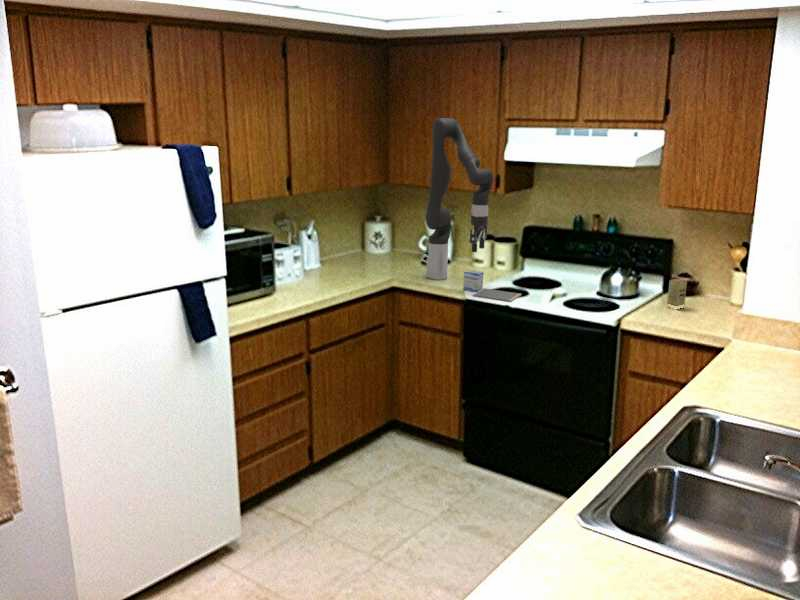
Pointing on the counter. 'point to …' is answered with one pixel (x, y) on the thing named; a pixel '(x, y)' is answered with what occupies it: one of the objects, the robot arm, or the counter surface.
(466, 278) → the medicine box
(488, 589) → the counter surface
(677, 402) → the counter surface
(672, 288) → the shoe polish box
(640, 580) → the counter surface
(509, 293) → the mat
